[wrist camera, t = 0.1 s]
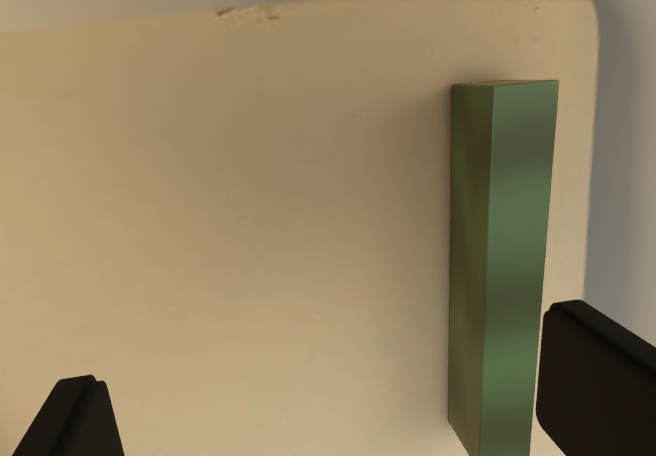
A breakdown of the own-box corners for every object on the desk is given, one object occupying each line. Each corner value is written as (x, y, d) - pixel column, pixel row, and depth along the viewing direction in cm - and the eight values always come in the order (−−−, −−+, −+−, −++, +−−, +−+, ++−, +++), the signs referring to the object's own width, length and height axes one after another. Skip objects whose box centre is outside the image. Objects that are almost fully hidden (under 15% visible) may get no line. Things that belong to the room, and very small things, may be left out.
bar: (451, 84, 23) (493, 84, 19) (508, 79, 23) (560, 79, 20) (447, 421, 29) (478, 471, 25) (492, 412, 29) (529, 461, 26)
